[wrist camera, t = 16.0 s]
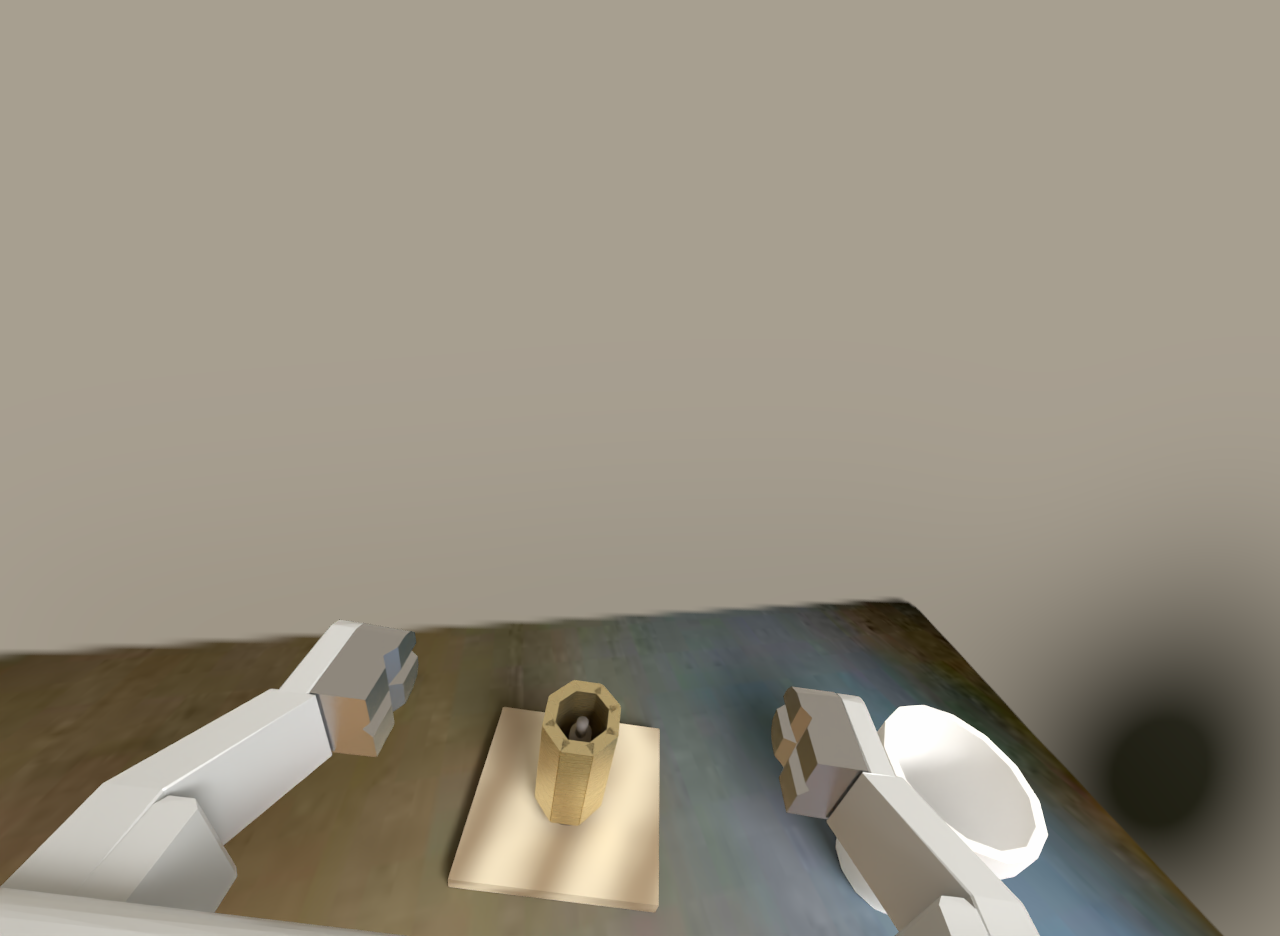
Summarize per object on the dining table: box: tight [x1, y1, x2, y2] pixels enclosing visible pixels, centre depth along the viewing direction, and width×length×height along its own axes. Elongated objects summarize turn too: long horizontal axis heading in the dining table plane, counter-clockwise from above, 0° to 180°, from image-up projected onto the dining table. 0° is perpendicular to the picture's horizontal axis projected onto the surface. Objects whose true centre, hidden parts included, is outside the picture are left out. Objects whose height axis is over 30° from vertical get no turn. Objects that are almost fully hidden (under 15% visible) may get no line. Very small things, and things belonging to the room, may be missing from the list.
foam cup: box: [836, 705, 1048, 915], centre depth 33 cm, size 10×9×13 cm
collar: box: [535, 680, 621, 826], centre depth 33 cm, size 5×5×9 cm
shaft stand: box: [448, 707, 659, 912], centre depth 34 cm, size 14×12×10 cm
